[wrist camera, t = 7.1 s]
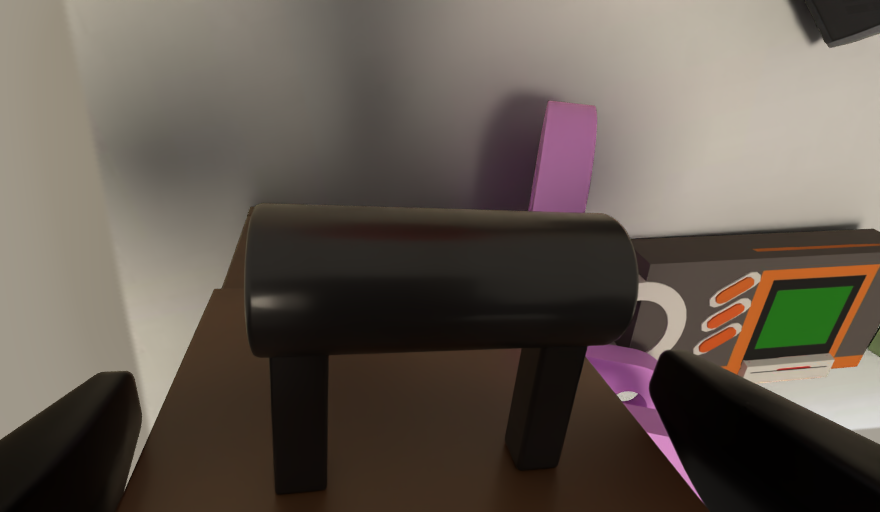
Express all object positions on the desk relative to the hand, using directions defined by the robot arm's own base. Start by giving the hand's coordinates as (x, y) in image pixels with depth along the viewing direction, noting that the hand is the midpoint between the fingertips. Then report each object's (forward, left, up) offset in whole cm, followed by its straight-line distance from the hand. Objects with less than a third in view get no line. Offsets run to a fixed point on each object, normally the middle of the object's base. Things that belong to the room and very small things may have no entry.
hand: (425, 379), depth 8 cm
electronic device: (-15, -8, -11) cm, 20 cm away
